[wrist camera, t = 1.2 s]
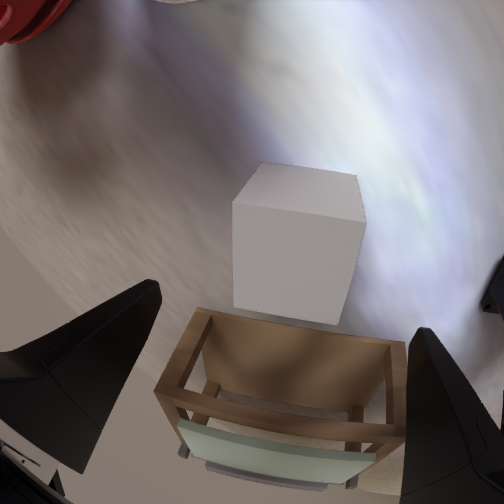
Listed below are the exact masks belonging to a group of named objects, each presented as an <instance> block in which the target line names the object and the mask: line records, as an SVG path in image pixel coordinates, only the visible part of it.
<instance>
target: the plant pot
mask: <svg viewBox="0 0 504 504" xmlns="http://www.w3.org/2000/svg"><path fill="white" fill-rule="evenodd" d="M71 1H72V0H0V46H1V45H2V44H4V43H5V42H6V43H10V44H19V43H23V42H26V41H28V40H30V39H32V38H34V37H36V36H37V35H39V34H40V33H41V32H43V31H44V30H45V29H47V28H48V27H49V26H50V25H51V24H52V23H53V22H54V21H55V20H56V19H57V18H58V17H59V16H60V15H61V14H62V13H63V11H64V10H65V9H66V8H67V7H68V5H69V4H70V3H71Z"/></svg>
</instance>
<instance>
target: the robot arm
mask: <svg viewBox="0 0 504 504" xmlns="http://www.w3.org/2000/svg"><path fill="white" fill-rule="evenodd" d="M161 304H162V295H161V291H160V286H159V283H158V282H157V281H156V280H151V279H146V280H144V281H142V282H140V283H138V284H136V285H135V286H133V287H131V288H129V289H127V290H125V291H124V292H122V293H120V294H118V295H116V296H114V297H113V298H111V299H109V300H107V301H105V302H104V303H102V304H100V305H98V306H96V307H95V308H93V309H91V310H89V311H88V312H86V313H84V314H82V315H80V316H79V317H77V318H75V319H73V320H72V321H70V322H69V323H66V324H65V325H63V326H61V327H59V328H58V329H55V330H54V331H52V332H50V333H48V334H46V335H44V336H42V337H40V338H38V339H36V340H34V341H31V342H29V343H27V344H25V345H23V346H21V347H19V348H17V349H14V350H12V351H8V352H0V504H73V503H72V502H70V501H69V500H67V499H66V498H64V496H65V493H64V490H63V487H62V484H61V481H60V477H59V473H58V470H57V468H58V466H59V464H60V462H61V463H62V464H64V465H66V466H67V467H69V468H71V469H73V470H74V471H76V472H78V473H80V474H83V472H84V470H85V468H86V466H87V463H88V461H89V459H90V457H91V454H92V452H93V450H94V448H95V445H96V443H97V441H98V439H99V437H100V435H101V432H102V430H103V428H104V426H105V423H106V421H107V419H108V417H109V415H110V413H111V410H112V409H113V406H114V404H115V402H116V400H117V398H118V396H119V394H120V392H121V389H122V388H123V386H124V383H125V382H126V380H127V378H128V376H129V374H130V372H131V370H132V368H133V366H134V364H135V362H136V360H137V358H138V356H139V354H140V353H141V351H142V349H143V347H144V345H145V343H146V341H147V339H148V336H149V334H150V332H151V329H152V327H153V324H154V321H155V319H156V316H157V314H158V311H159V309H160V307H161ZM480 306H481V308H482V311H483V312H489V313H497V314H501V316H502V319H503V321H504V259H503V261H502V263H501V265H500V268H499V270H498V272H497V274H496V276H495V277H494V279H493V281H492V283H491V285H490V287H489V289H488V291H487V292H486V294H485V296H484V298H483V299H482V301H481V304H480ZM399 504H504V390H503V408H502V421H501V431H500V430H499V428H498V427H497V425H496V424H495V422H494V421H493V419H492V418H491V416H490V414H489V413H488V411H487V410H486V408H485V407H484V405H483V403H481V400H480V399H479V397H478V395H477V394H476V392H475V391H474V389H473V388H472V386H471V385H470V383H469V382H468V380H467V379H466V377H465V376H464V374H463V373H462V371H461V370H460V368H459V367H458V365H457V364H456V363H455V361H454V360H453V358H452V357H451V355H450V354H449V353H448V351H447V350H446V348H445V347H444V346H443V344H442V343H441V342H440V340H439V339H438V337H437V336H436V335H435V333H434V332H433V331H432V330H431V329H430V328H425V327H420V328H418V330H417V331H416V333H415V335H414V337H413V338H412V340H411V342H410V344H409V349H408V367H407V381H406V437H405V456H404V469H403V479H402V488H401V497H400V502H399Z"/></svg>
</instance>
